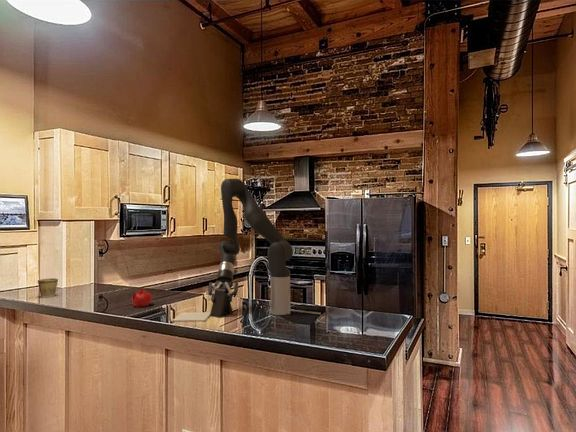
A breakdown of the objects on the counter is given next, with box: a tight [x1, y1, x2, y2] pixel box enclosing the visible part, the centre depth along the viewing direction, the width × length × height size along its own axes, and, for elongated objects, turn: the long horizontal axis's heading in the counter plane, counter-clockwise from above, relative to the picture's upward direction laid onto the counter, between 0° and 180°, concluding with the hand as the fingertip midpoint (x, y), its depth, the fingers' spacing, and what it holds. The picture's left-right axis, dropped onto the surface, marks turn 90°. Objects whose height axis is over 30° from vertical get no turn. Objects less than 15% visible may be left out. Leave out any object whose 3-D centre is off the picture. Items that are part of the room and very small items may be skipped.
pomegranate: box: [131, 287, 153, 308], centre depth 197 cm, size 10×10×9 cm
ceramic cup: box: [37, 277, 59, 299], centre depth 224 cm, size 13×10×10 cm
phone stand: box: [209, 287, 234, 318], centre depth 177 cm, size 9×6×12 cm, turn 147°
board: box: [172, 311, 211, 323], centre depth 172 cm, size 14×14×1 cm
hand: (221, 302), depth 175 cm, fingers closed on phone stand, 6 cm apart
